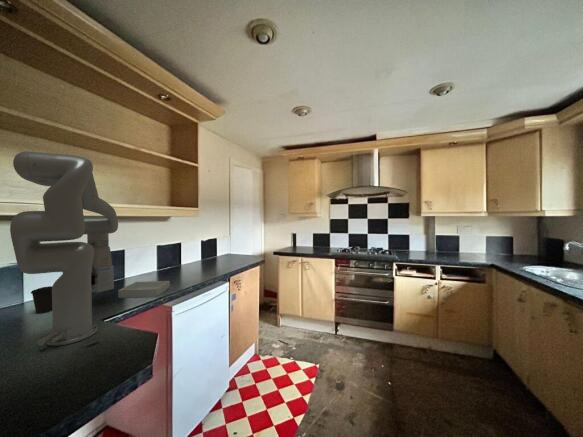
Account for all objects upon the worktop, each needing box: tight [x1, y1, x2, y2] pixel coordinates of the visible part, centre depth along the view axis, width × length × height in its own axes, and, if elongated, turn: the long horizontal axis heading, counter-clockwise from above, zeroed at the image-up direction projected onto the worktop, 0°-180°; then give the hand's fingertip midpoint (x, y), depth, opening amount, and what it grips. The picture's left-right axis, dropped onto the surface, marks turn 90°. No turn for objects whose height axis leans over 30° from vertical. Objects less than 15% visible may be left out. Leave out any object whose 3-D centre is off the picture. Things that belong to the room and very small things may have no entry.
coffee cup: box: [30, 285, 53, 315], centre depth 97 cm, size 8×8×10 cm
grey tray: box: [117, 280, 171, 299], centre depth 118 cm, size 14×18×4 cm
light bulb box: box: [91, 264, 115, 293], centre depth 105 cm, size 11×7×11 cm, turn 71°
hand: (98, 282), depth 105 cm, fingers closed on light bulb box, 8 cm apart
